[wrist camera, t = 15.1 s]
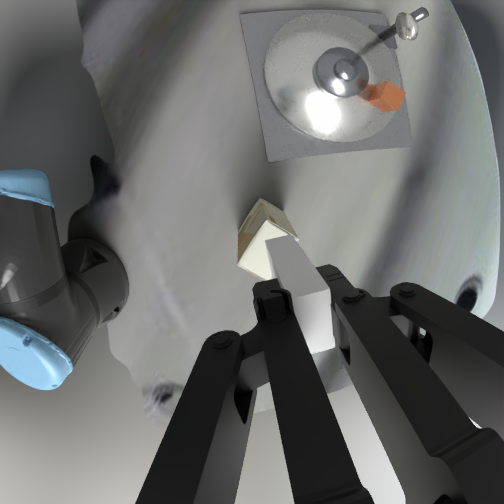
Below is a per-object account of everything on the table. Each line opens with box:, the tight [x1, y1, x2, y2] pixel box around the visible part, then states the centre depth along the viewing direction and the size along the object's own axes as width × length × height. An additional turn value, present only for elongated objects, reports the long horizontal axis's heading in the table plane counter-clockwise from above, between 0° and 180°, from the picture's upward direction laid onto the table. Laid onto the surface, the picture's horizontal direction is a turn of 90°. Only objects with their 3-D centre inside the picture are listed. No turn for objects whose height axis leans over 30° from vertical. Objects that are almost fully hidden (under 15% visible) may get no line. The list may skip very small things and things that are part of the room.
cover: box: [312, 47, 369, 99], centre depth 32 cm, size 7×7×4 cm
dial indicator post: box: [370, 7, 429, 49], centre depth 28 cm, size 4×6×13 cm
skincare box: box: [238, 198, 299, 281], centre depth 38 cm, size 6×4×12 cm
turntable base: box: [240, 10, 412, 162], centre depth 36 cm, size 23×23×1 cm
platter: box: [264, 13, 405, 142], centre depth 32 cm, size 20×20×5 cm
